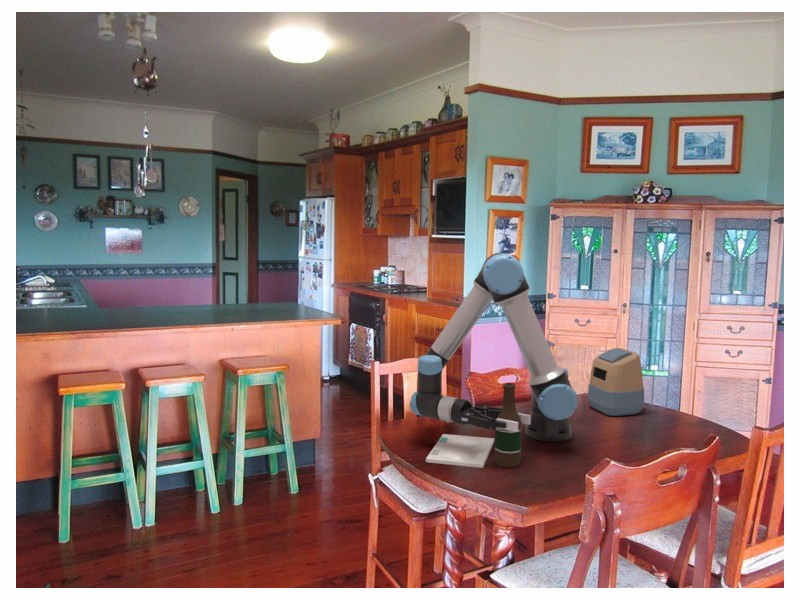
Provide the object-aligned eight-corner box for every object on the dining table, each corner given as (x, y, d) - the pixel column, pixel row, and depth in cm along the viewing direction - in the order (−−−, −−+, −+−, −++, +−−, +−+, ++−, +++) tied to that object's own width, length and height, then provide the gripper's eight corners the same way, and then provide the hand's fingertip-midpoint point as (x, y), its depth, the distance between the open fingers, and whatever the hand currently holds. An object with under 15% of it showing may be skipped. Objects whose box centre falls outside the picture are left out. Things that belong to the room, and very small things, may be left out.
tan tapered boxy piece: (583, 406, 250) (585, 347, 247) (621, 403, 254) (623, 345, 252) (608, 419, 234) (610, 356, 231) (648, 415, 238) (650, 353, 236)
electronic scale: (494, 441, 209) (494, 437, 209) (482, 467, 186) (483, 463, 186) (443, 436, 214) (443, 433, 214) (425, 462, 191) (425, 458, 191)
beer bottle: (491, 459, 194) (493, 380, 191) (517, 458, 194) (518, 380, 191) (497, 468, 186) (499, 387, 183) (524, 468, 186) (526, 386, 184)
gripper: (472, 414, 208) (538, 427, 194) (437, 430, 191) (507, 445, 178) (472, 391, 207) (538, 403, 193) (438, 405, 190) (508, 419, 177)
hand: (523, 423), depth 186 cm, fingers closed on beer bottle, 7 cm apart
